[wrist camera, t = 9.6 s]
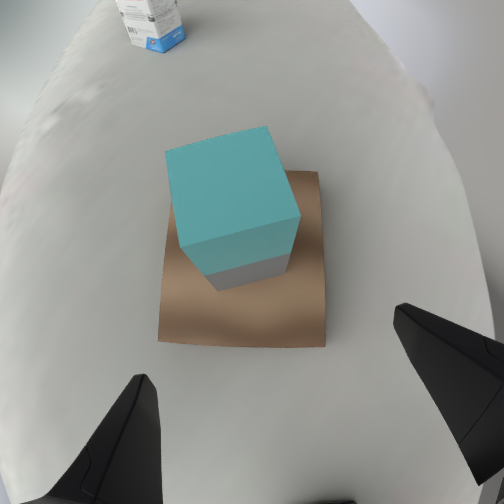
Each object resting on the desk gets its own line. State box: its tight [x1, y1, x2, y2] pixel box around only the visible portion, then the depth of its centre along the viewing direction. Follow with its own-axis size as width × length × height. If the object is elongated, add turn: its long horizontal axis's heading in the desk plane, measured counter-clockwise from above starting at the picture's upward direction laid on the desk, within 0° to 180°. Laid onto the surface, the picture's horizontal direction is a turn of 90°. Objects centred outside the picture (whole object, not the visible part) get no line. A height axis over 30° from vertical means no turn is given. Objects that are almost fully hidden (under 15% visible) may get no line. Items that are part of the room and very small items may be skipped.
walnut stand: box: [158, 171, 326, 348], centre depth 23 cm, size 14×12×2 cm
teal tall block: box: [165, 126, 301, 291], centre depth 17 cm, size 5×5×10 cm
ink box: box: [116, 0, 185, 53], centre depth 29 cm, size 9×5×15 cm, turn 52°
